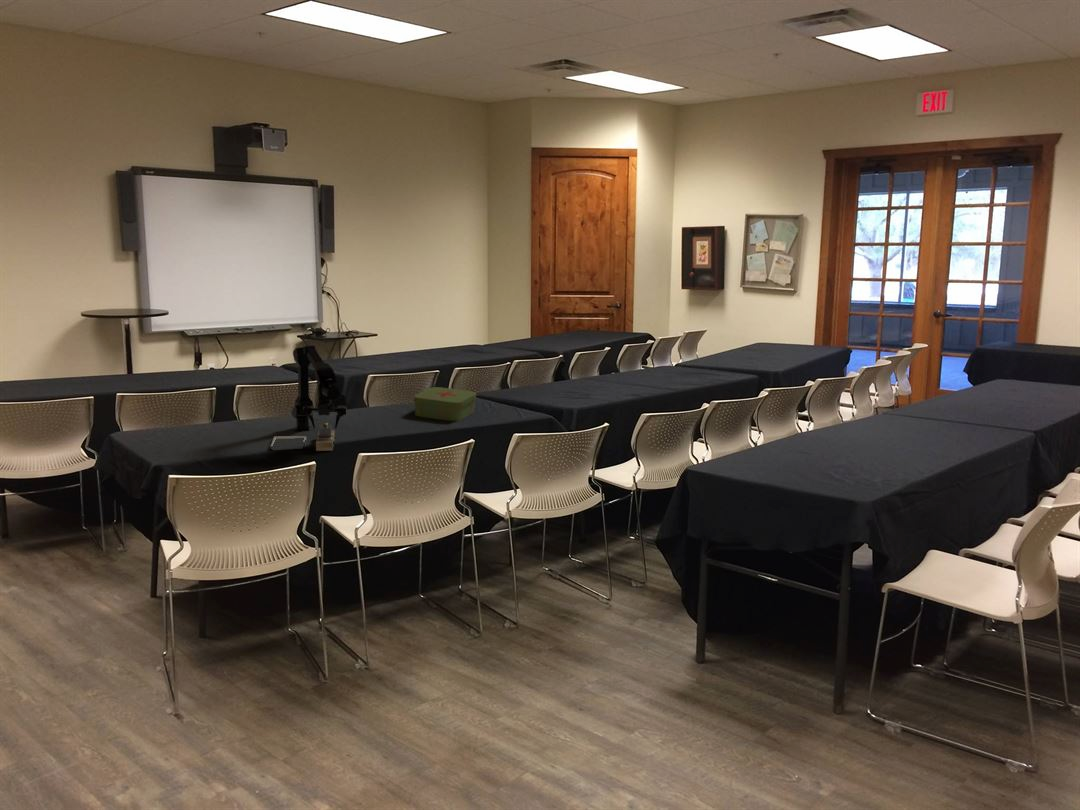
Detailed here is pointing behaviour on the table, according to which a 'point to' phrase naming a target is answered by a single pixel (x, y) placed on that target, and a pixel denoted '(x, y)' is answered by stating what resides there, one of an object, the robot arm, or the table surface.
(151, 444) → the table surface
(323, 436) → the dark grey block
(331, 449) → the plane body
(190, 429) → the table surface
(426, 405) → the first aid kit
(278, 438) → the parts tray
